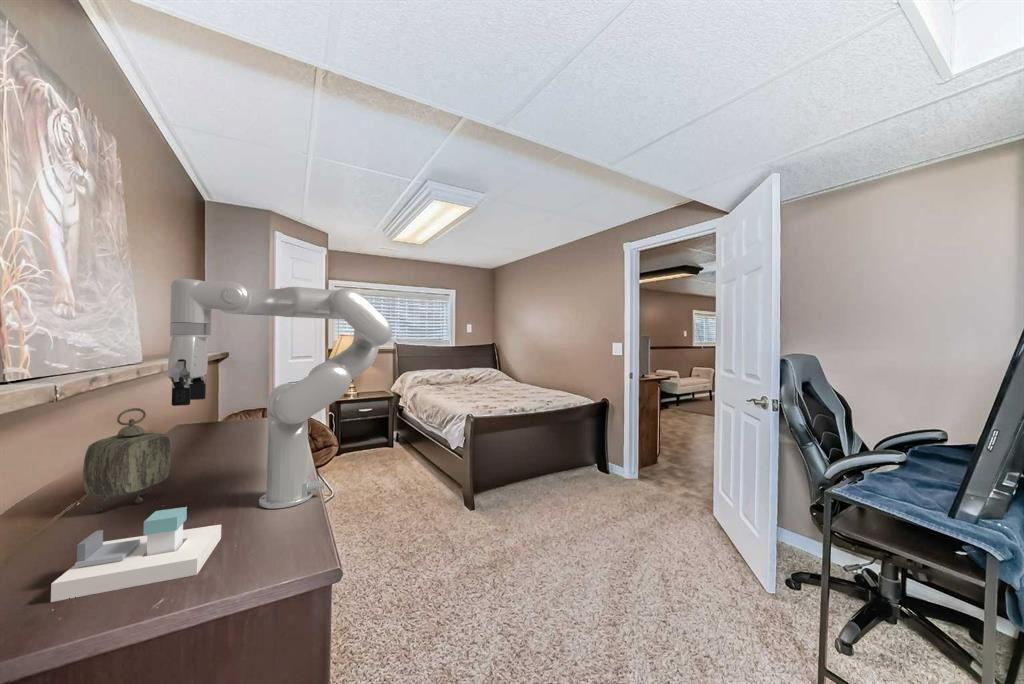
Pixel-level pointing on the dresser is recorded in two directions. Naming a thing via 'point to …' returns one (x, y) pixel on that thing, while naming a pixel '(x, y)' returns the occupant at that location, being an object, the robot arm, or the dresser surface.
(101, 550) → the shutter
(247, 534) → the dresser surface
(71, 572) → the socket
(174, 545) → the plug
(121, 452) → the tabletop clock
